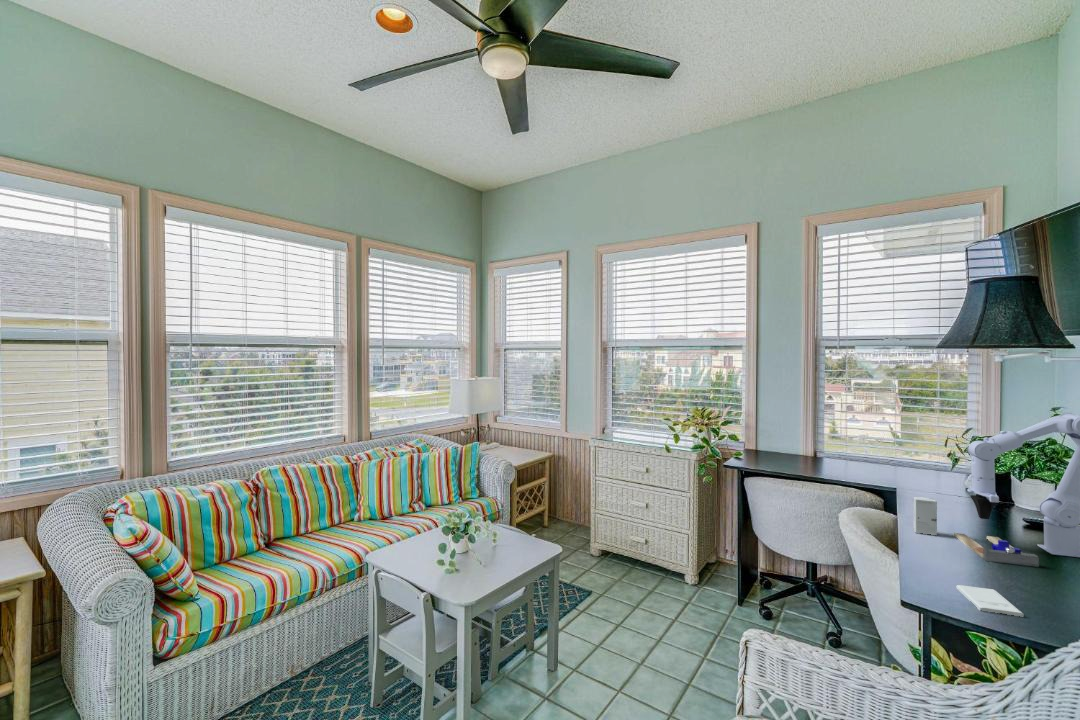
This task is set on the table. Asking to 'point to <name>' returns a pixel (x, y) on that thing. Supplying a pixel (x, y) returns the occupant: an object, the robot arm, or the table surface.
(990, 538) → the birch track
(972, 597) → the external hard drive
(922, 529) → the skincare box
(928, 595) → the table surface
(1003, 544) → the cable holder
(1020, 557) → the block
